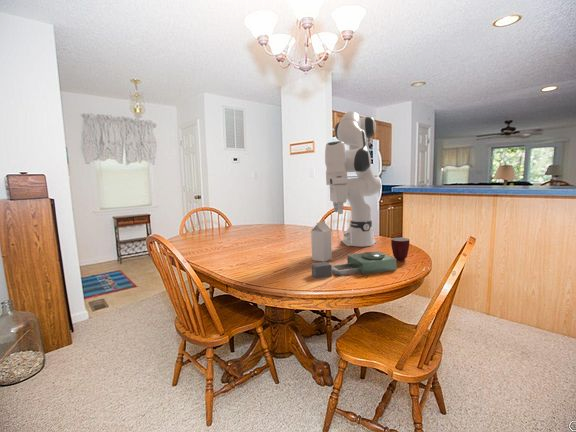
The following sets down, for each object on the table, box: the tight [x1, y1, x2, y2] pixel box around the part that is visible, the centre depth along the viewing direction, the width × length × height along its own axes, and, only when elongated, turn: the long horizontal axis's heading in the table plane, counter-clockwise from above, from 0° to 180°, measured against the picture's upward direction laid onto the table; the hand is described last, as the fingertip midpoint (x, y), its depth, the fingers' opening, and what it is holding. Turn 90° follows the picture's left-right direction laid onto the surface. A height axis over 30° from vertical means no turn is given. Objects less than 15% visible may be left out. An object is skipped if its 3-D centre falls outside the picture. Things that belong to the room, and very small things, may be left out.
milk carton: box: [310, 220, 333, 262], centre depth 150 cm, size 7×7×19 cm
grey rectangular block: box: [311, 261, 333, 279], centre depth 127 cm, size 5×7×5 cm
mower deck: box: [331, 250, 397, 277], centre depth 133 cm, size 14×26×6 cm, turn 105°
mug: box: [390, 237, 410, 262], centre depth 142 cm, size 11×8×10 cm
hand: (338, 212), depth 128 cm, fingers open, 8 cm apart
